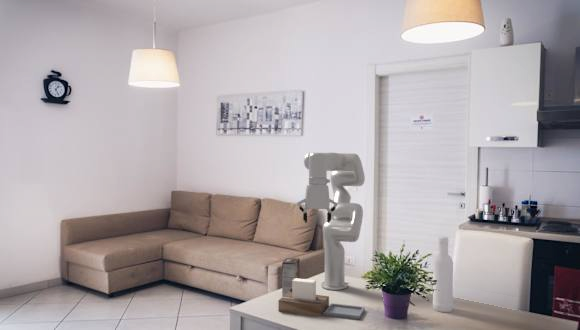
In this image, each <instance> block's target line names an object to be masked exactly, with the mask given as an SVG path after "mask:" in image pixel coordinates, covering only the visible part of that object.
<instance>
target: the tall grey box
mask: <svg viewBox="0 0 580 330" xmlns="http://www.w3.org/2000/svg"><path fill="white" fill-rule="evenodd" d="M300 264H301V263H300V258H298V257H297V258H296V257H295V258H293V257H286V258H285V259H284V260H283V261H282V264H281V265H282V266H281V267H282V270H281V272H282V273H281V276H282V277H281V278H282V279H281V282H282V286H281V287H282V291H281V292H282V297H283V296H284V295H285V294H287V293H288V292H292V280H294V279H295V278H299V279H301V278H300V277H301V276H300V273H301V272H300V267H301V266H300ZM282 297H281V298H282Z"/></svg>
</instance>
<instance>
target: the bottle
mask: <svg viewBox="0 0 580 330" xmlns="http://www.w3.org/2000/svg"><path fill="white" fill-rule="evenodd" d="M432 263H433V270H432V271H433V276H432V277H433V279H432V281H433V280H437V281H438V282H436V283H437V284H436V285H434V286H433V285H432V290H433V289H437V291H434V292H433V291H432V309H433V310H434V311H436V312H440V313H451V312H452V311H453V307H454V304H453V302H454V301H453V297H454V296H453V293H454V291H453V290H454V289H453V286H454V285H453V283H454V278H453V277H454V261H453V259H452V256H450V255H449V237H448V236H443V235H442V236H439V237H438V254H437V255H436V256H435V257H434V259H433V262H432ZM438 290H440V291H438Z"/></svg>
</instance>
